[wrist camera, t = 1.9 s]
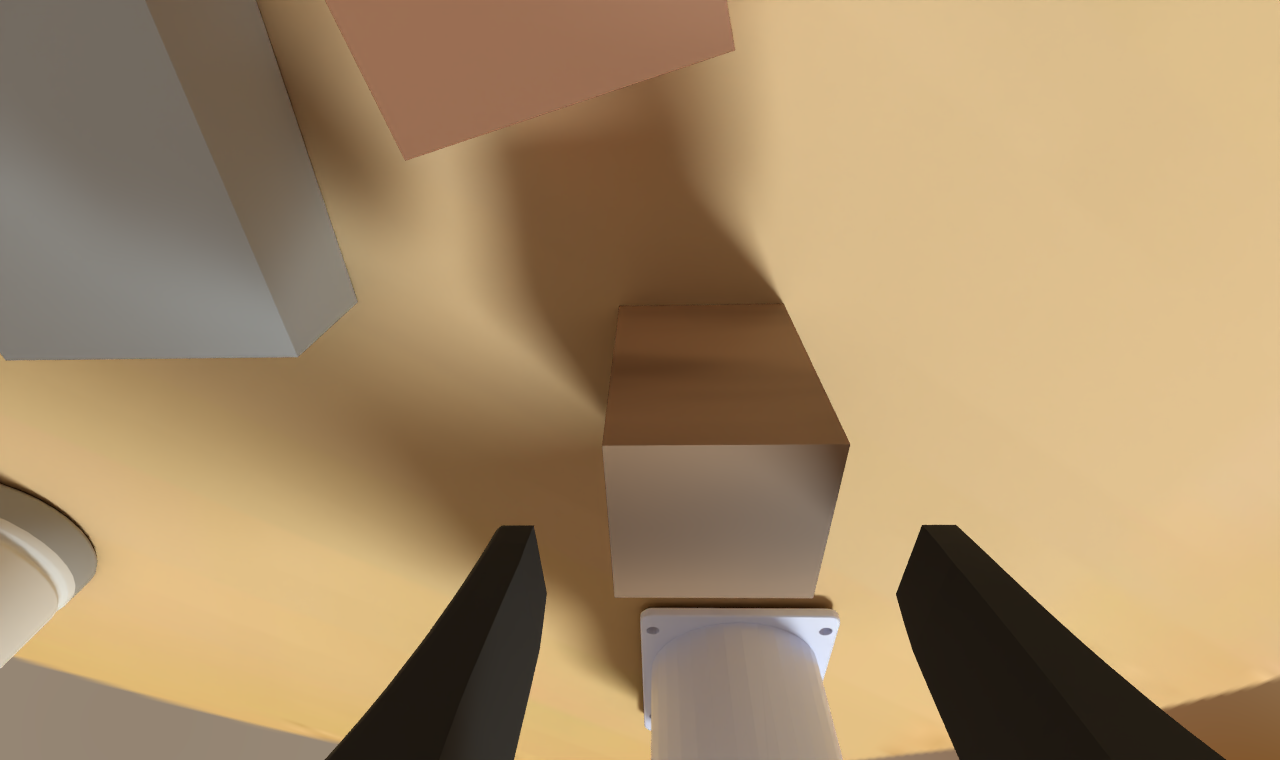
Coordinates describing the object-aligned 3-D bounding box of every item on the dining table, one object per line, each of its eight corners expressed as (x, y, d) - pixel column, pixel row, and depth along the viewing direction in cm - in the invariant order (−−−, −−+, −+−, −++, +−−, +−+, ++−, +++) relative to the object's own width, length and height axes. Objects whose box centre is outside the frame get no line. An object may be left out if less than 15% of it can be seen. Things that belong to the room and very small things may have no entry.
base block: (357, 301, 15) (298, 357, 12) (113, 305, 15) (5, 360, 13) (252, -9, 11) (136, -21, 9) (-72, 2, 11) (-277, -7, 9)
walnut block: (766, 431, 17) (813, 598, 12) (626, 433, 17) (614, 597, 12) (783, 303, 15) (850, 444, 10) (619, 305, 15) (602, 445, 10)
